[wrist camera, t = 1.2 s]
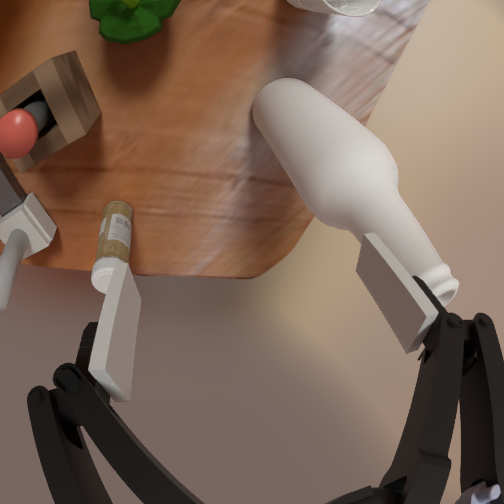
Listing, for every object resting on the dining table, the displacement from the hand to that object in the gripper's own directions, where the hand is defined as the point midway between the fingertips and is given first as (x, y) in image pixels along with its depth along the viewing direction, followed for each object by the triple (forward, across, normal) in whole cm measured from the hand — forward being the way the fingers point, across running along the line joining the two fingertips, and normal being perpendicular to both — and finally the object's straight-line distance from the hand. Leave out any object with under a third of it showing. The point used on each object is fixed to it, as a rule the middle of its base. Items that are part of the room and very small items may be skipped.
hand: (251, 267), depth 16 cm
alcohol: (+26, +8, +5) cm, 27 cm away
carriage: (+24, -30, -5) cm, 39 cm away
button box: (+22, -19, +11) cm, 31 cm away
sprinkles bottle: (+26, -15, -8) cm, 31 cm away
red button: (+18, -19, +10) cm, 28 cm away
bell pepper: (+22, -8, +19) cm, 30 cm away
